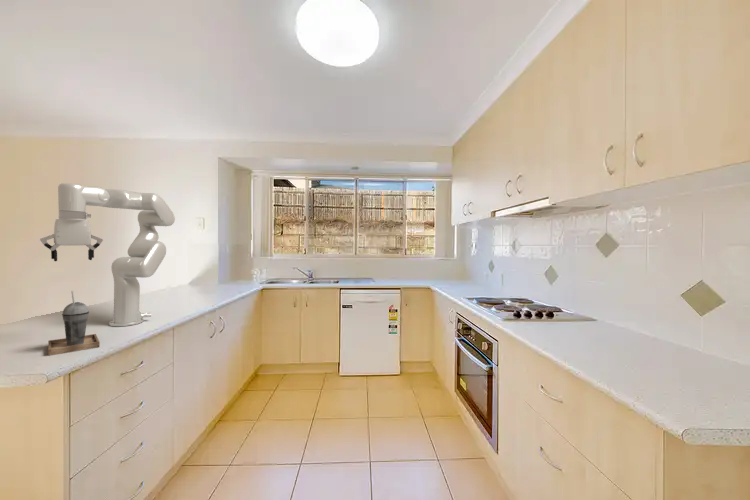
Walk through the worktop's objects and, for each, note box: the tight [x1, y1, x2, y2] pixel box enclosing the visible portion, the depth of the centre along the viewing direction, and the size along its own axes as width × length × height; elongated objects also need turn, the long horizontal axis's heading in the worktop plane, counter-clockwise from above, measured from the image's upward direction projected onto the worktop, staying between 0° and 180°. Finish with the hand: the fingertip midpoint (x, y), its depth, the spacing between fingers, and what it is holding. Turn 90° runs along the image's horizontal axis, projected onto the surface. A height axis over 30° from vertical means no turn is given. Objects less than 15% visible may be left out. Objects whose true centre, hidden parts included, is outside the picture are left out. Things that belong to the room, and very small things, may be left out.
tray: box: [47, 333, 100, 356], centre depth 114 cm, size 13×13×2 cm
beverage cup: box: [61, 290, 90, 346], centre depth 114 cm, size 7×7×20 cm
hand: (73, 260), depth 119 cm, fingers open, 9 cm apart
